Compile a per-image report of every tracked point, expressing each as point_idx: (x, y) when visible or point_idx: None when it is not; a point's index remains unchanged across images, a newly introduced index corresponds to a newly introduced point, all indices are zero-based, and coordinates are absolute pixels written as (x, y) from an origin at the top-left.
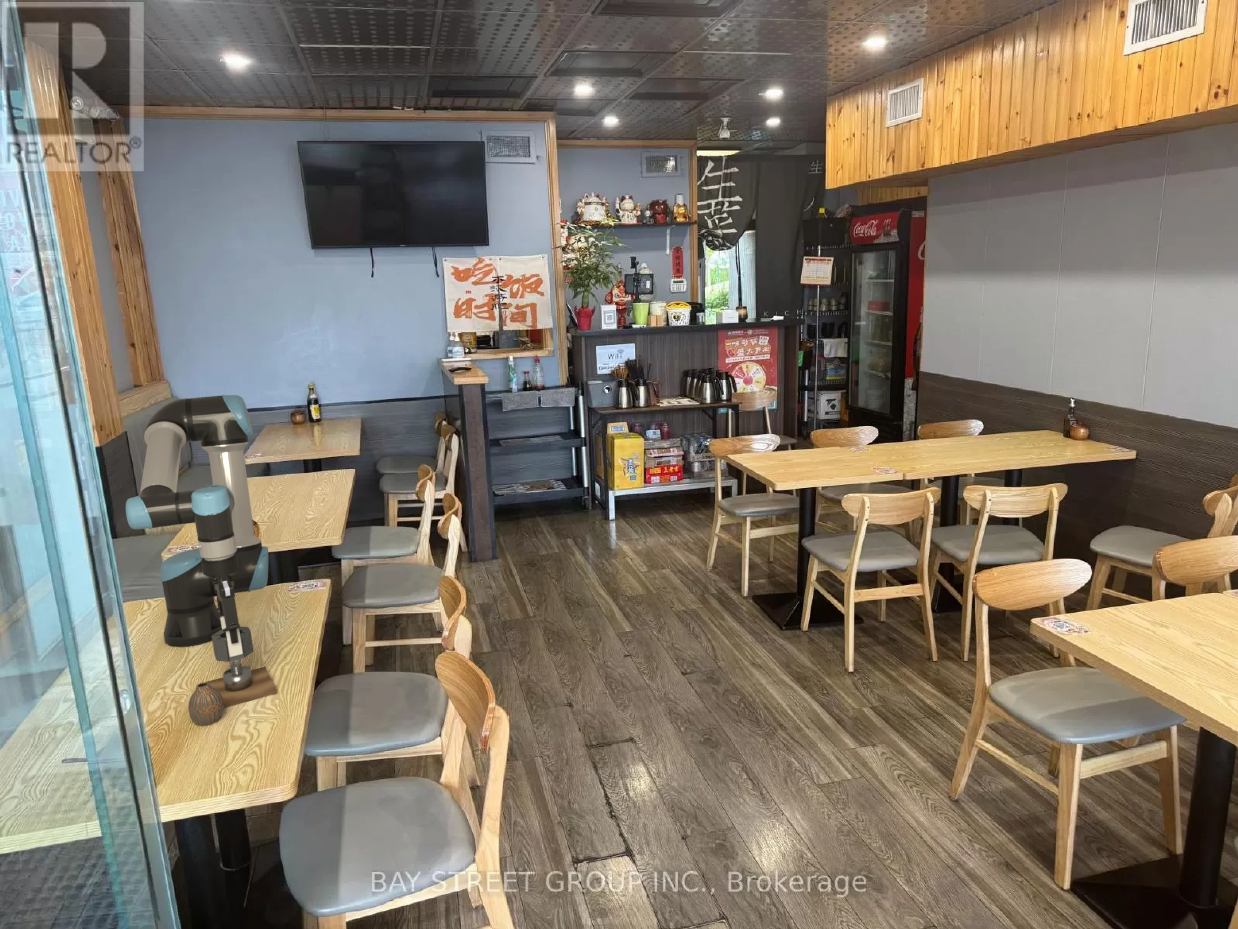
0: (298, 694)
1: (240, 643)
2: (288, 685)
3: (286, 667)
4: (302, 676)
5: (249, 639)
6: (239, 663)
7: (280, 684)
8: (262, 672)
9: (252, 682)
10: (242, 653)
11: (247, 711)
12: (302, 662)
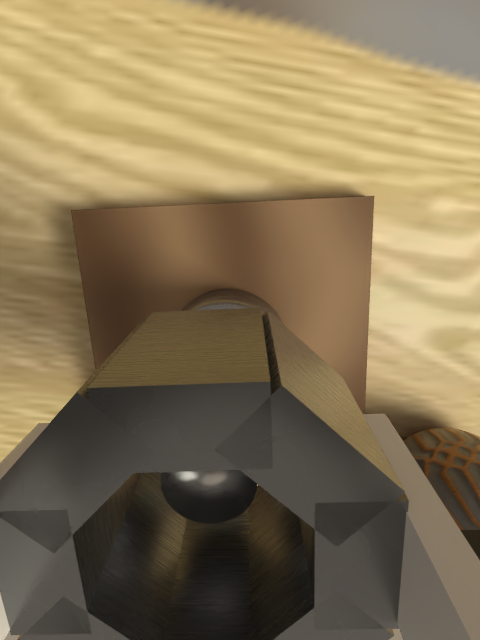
0: (449, 98)
1: (422, 481)
2: (314, 130)
3: (89, 105)
4: (251, 39)
5: (299, 375)
6: None
7: (277, 165)
8: (141, 232)
9: (244, 292)
10: (384, 416)
11: (453, 333)
12: (66, 6)
